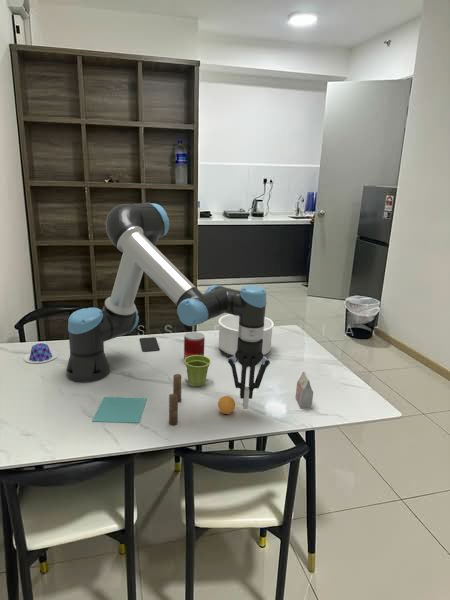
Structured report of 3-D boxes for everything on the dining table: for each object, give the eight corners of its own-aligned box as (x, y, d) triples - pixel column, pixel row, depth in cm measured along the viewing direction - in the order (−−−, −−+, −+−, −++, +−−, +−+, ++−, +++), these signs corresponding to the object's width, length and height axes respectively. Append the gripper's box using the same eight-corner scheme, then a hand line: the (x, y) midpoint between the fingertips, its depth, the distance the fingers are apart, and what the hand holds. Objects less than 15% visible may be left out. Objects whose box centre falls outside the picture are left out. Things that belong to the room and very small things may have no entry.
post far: (172, 402, 135) (172, 377, 132) (173, 398, 137) (173, 373, 134) (180, 402, 135) (181, 377, 132) (181, 398, 137) (181, 374, 135)
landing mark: (91, 421, 122) (91, 421, 122) (104, 397, 136) (103, 396, 136) (139, 423, 123) (139, 422, 123) (146, 398, 136) (146, 398, 136)
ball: (217, 417, 128) (218, 401, 126) (217, 407, 133) (218, 392, 131) (235, 417, 128) (236, 401, 126) (234, 407, 133) (235, 392, 132)
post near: (168, 424, 122) (168, 398, 120) (169, 419, 125) (169, 393, 122) (177, 425, 123) (177, 398, 120) (178, 420, 125) (178, 393, 122)
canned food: (203, 365, 162) (203, 339, 158) (182, 364, 162) (183, 338, 159) (204, 357, 169) (205, 332, 166) (184, 356, 169) (185, 331, 166)
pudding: (23, 366, 155) (22, 353, 153) (24, 353, 165) (23, 341, 164) (58, 362, 160) (57, 349, 158) (56, 350, 170) (55, 338, 168)
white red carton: (306, 398, 141) (309, 371, 138) (311, 408, 135) (314, 381, 132) (295, 397, 141) (298, 371, 138) (300, 408, 135) (303, 381, 132)
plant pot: (213, 379, 151) (214, 357, 149) (204, 391, 143) (204, 368, 140) (190, 374, 154) (190, 353, 151) (179, 386, 145) (179, 363, 143)
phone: (155, 337, 187) (160, 349, 173) (155, 338, 187) (160, 351, 173) (139, 338, 185) (142, 351, 171) (139, 339, 185) (142, 353, 171)
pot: (212, 337, 191) (214, 309, 187) (262, 336, 194) (264, 309, 190) (222, 369, 159) (223, 336, 155) (281, 368, 163) (284, 335, 159)
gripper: (229, 341, 120) (225, 413, 126) (273, 343, 120) (267, 414, 127) (228, 332, 127) (224, 400, 134) (270, 333, 127) (264, 401, 134)
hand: (245, 406), depth 130 cm, fingers closed
